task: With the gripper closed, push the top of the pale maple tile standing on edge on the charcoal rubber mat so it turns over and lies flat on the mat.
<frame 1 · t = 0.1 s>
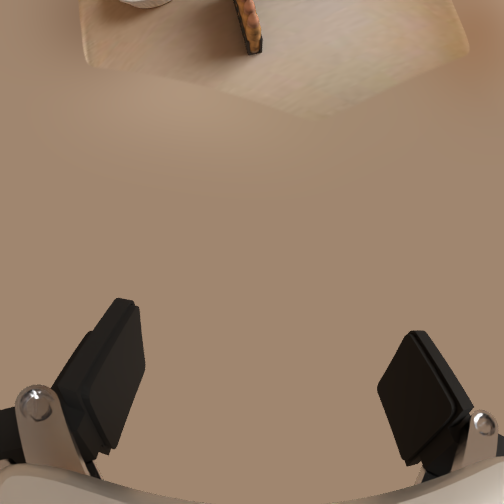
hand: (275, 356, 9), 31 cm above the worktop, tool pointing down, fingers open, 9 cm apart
ammunition clip: (246, 22, 29), on the worktop
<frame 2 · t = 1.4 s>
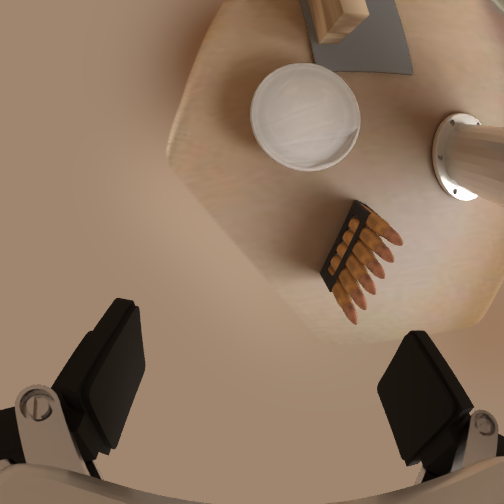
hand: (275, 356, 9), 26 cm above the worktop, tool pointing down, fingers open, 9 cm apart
mat: (355, 19, 24), on the worktop
ammunition clip: (342, 239, 35), on the worktop
ramekin: (298, 119, 30), on the worktop
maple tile: (321, 16, 24), point 1 cm above the worktop, touching mat
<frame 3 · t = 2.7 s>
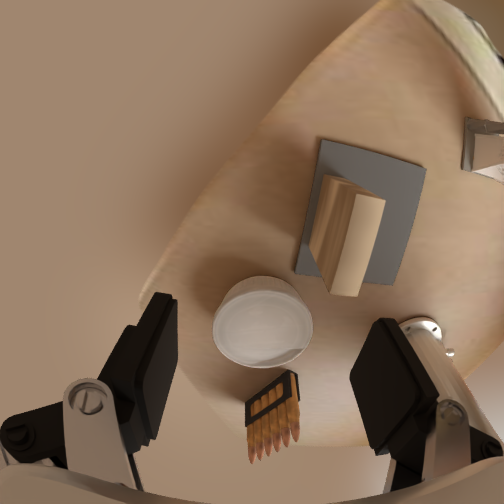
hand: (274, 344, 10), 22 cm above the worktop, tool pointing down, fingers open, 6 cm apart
mat: (362, 218, 30), on the worktop
ammunition clip: (269, 388, 41), on the worktop
ramekin: (261, 306, 35), on the worktop
skyscraper: (482, 153, 26), on the worktop
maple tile: (327, 213, 29), point 1 cm above the worktop, touching mat
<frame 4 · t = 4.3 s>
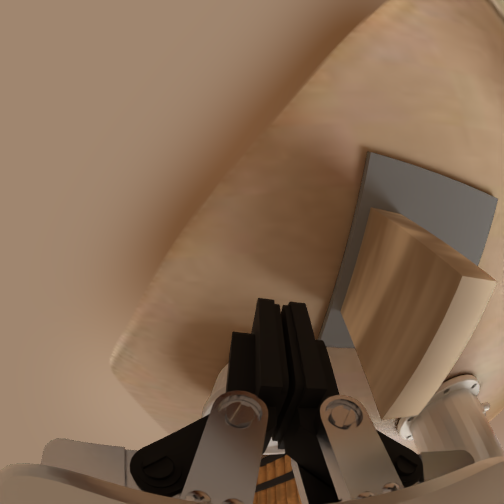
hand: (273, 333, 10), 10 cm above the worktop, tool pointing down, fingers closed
mat: (416, 269, 20), on the worktop
ammunition clip: (276, 454, 30), on the worktop
ramekin: (269, 380, 24), on the worktop
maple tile: (370, 265, 19), point 1 cm above the worktop, touching mat
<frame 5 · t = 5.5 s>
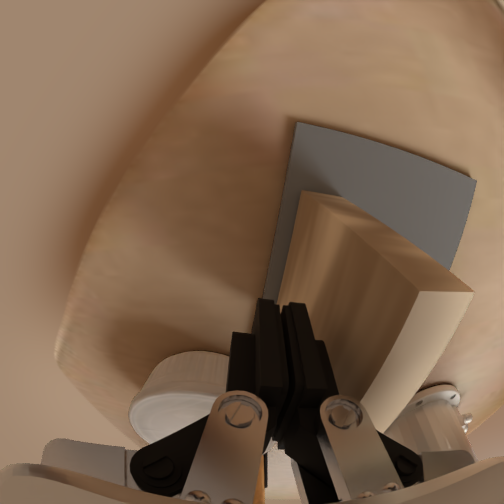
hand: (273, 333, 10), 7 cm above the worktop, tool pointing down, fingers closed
mat: (370, 265, 17), on the worktop
ammunition clip: (234, 459, 28), on the worktop
ramekin: (208, 384, 22), on the worktop
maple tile: (306, 260, 16), point 1 cm above the worktop, tilted 7°, touching gripper, mat
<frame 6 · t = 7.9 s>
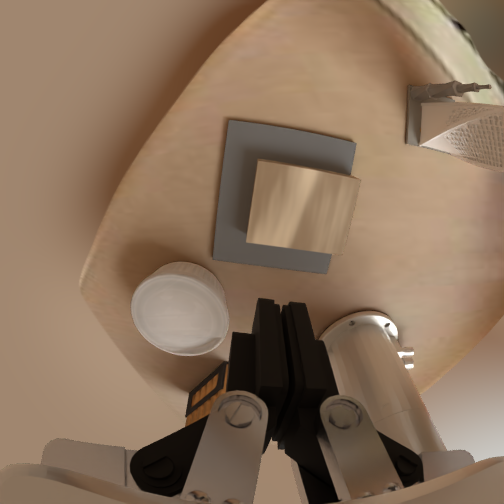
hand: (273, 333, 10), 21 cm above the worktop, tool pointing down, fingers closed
mat: (282, 200, 29), on the worktop
ammunition clip: (210, 380, 41), on the worktop
ramekin: (187, 293, 34), on the worktop
skyscraper: (434, 126, 26), on the worktop
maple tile: (251, 199, 28), point 2 cm above the worktop, tilted 90°, touching mat
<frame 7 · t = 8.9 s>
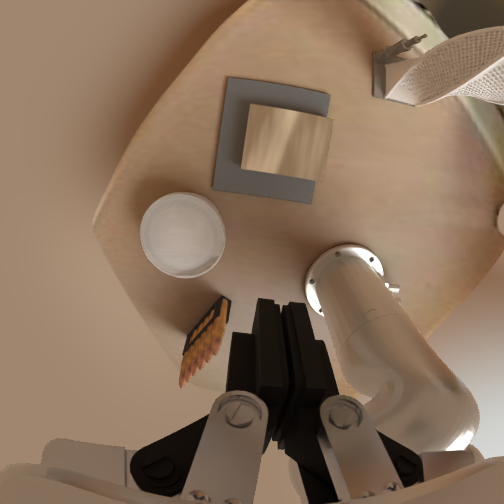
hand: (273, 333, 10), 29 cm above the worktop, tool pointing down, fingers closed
mat: (271, 139, 34), on the worktop
ammunition clip: (208, 318, 45), on the worktop
ramekin: (189, 225, 39), on the worktop
skyscraper: (399, 83, 31), on the worktop
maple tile: (245, 136, 33), point 2 cm above the worktop, tilted 90°, touching mat
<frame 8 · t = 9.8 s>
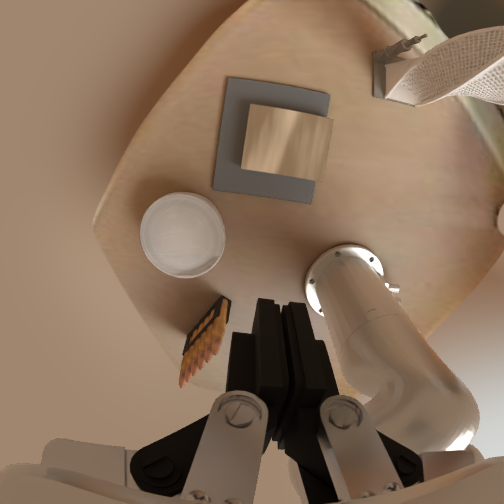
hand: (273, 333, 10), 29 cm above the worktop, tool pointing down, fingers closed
mat: (271, 139, 34), on the worktop
ammunition clip: (208, 318, 45), on the worktop
ramekin: (189, 225, 39), on the worktop
skyscraper: (399, 83, 31), on the worktop
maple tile: (245, 136, 33), point 2 cm above the worktop, tilted 90°, touching mat
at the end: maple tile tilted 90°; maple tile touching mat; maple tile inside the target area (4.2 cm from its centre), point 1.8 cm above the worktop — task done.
